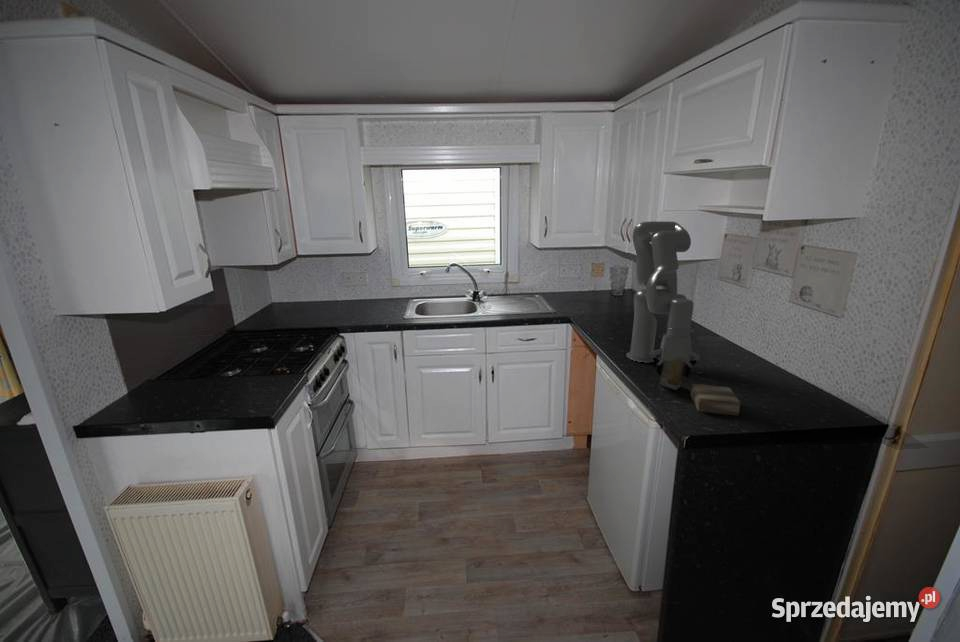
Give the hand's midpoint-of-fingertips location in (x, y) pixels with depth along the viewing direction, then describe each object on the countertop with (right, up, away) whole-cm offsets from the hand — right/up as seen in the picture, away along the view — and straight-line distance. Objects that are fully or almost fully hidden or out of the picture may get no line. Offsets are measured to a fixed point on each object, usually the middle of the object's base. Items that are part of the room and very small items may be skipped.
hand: (672, 374), depth 153 cm
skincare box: (0, -5, +2) cm, 5 cm away
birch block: (+8, -9, -13) cm, 18 cm away
